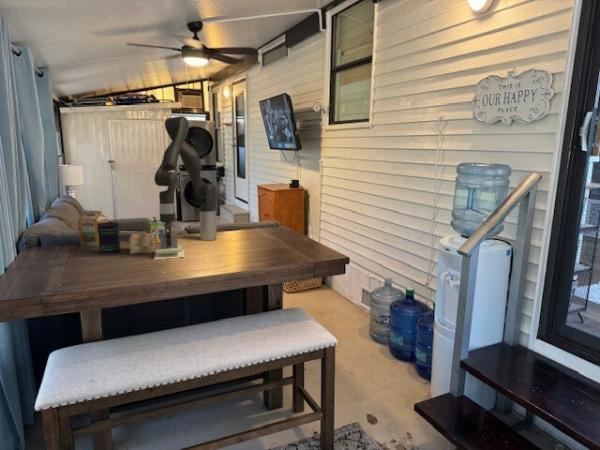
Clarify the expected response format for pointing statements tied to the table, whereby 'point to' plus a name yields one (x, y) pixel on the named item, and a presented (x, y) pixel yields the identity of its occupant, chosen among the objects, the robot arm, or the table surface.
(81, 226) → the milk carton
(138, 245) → the box
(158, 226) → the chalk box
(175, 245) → the lid
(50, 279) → the table surface
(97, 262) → the table surface
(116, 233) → the dark blue cylinder
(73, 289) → the table surface
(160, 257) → the mat
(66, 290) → the table surface
